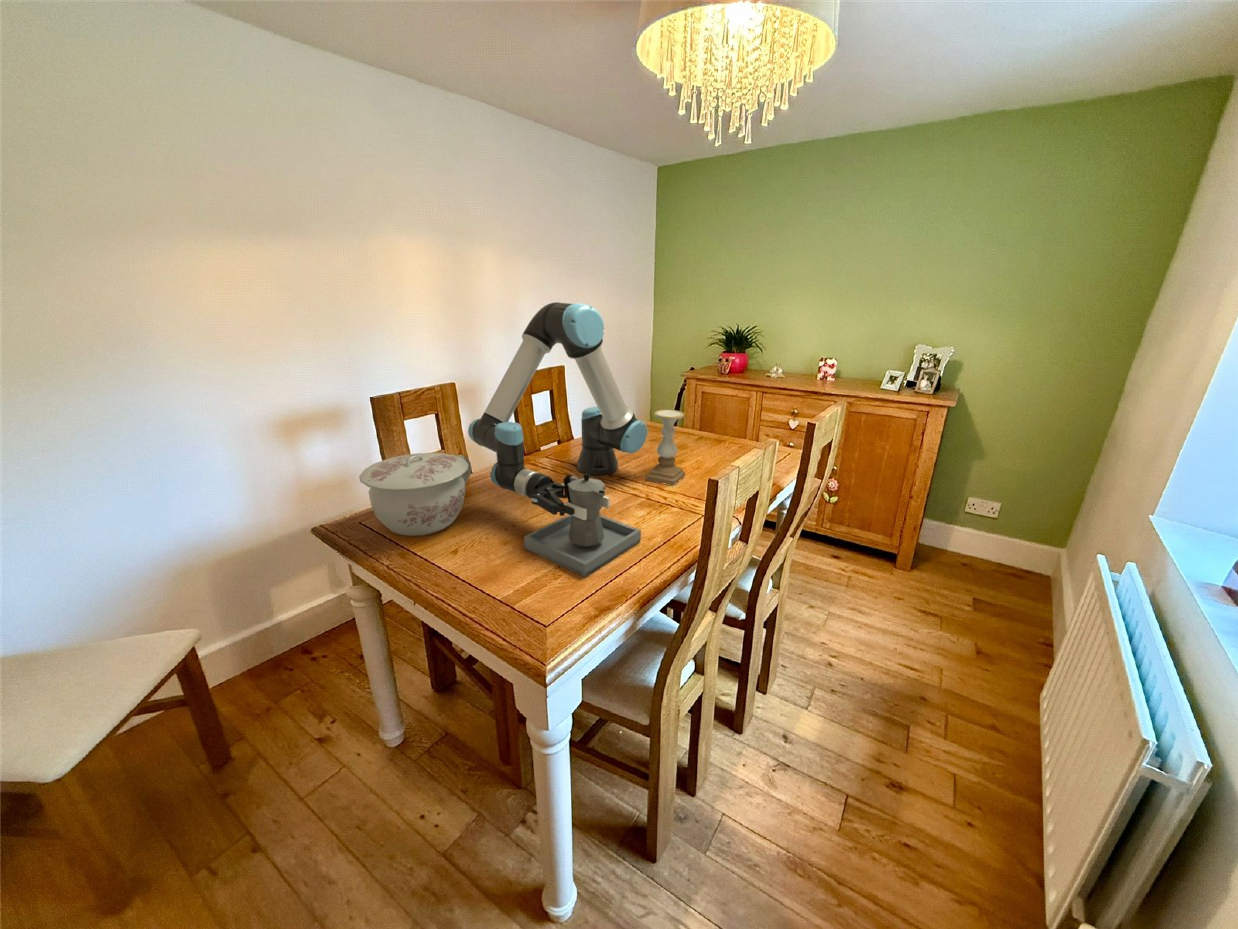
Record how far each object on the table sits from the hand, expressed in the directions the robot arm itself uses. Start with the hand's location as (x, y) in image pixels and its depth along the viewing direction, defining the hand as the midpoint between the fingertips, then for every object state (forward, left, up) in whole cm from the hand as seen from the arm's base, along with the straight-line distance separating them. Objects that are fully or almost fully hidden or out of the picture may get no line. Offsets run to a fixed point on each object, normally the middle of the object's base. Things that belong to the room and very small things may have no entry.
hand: (597, 508), depth 121 cm
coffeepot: (0, -5, -10) cm, 11 cm away
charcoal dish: (0, -5, -12) cm, 13 cm away
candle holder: (-54, -14, -12) cm, 57 cm away
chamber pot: (+20, -47, -12) cm, 53 cm away
